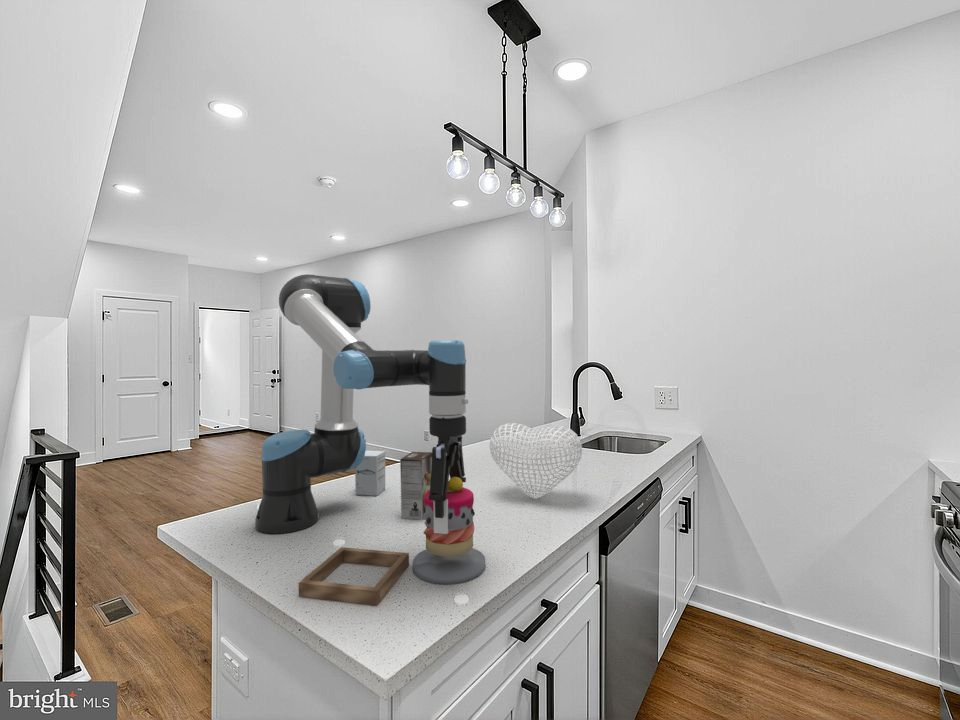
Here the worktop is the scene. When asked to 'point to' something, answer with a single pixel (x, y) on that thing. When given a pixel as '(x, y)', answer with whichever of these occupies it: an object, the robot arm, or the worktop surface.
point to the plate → (448, 567)
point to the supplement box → (370, 474)
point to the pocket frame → (354, 593)
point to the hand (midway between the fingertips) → (448, 522)
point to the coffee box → (415, 483)
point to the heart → (537, 431)
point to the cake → (451, 521)
